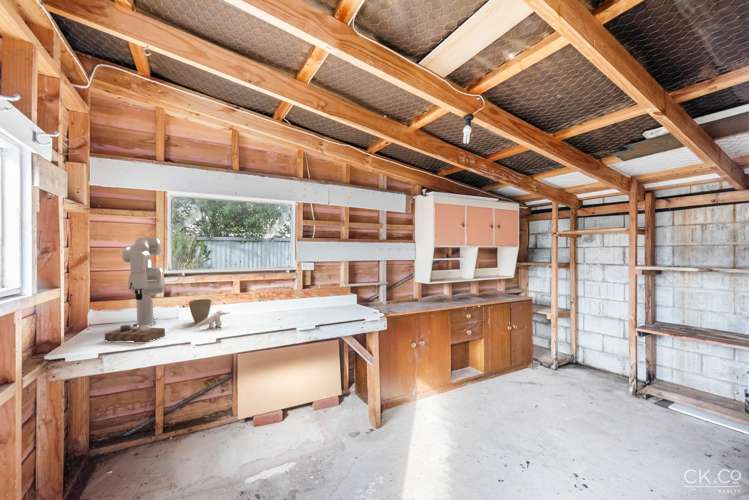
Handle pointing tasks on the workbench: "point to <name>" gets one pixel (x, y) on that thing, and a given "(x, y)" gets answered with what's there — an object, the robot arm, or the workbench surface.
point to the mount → (135, 335)
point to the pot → (135, 327)
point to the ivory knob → (145, 328)
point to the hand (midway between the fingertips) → (139, 299)
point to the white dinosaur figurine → (213, 319)
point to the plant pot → (200, 309)
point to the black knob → (125, 328)
